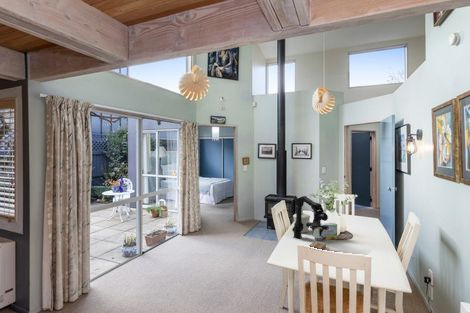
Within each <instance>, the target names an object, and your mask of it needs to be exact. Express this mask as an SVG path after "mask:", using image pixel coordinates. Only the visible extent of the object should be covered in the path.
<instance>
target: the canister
mask: <svg viewBox="0 0 470 313" xmlns="http://www.w3.org/2000/svg"><path fill="white" fill-rule="evenodd" d="M292 217H293V224H295V222H296V213H294V214H293V215H292ZM310 219H311V215H310V214H308V213H304V212H303V211H302V217H301V222H302V224H303V230H302V231H301V234H303V233H304V234H305V233H307V232H309V228H310V227H307V226H306V223H308V222H310Z"/></svg>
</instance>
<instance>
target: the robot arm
mask: <svg viewBox="0 0 470 313" xmlns="http://www.w3.org/2000/svg"><path fill="white" fill-rule="evenodd" d="M305 203H306V204H307V205H309V206H310V208H311V209H312V211H311V212H312V213H313V220H312V221H311V222H310V221H309V222H308V223H306V226H307V227H309V228H310V229H311V231H312V232H313V230H314V229H317V227H320V228H321V229H320V236H321V234H322V232H323V230H327V229H329V226H328V225H323V226H322V225H321V224H322V223H321V222H322V221H324V222H325V221H327V220H328V219H329V216H328V214H327V212H325V211H324V209H323V206H322V205H321V203H319V202H316V201H313V200H312V199H311V198H309V197H308V196H306V195H304V196H303V195H302V196H300V197H298V198H295V199H294V205H295V207H296V208H295V209H296V210H295V211H296V212H295V214H296V222H295V224H294V223H293V224H294V226H293V228H292V232H293V238H294V239H297V240H298V239H301V238H303V237H302V233H301V231H302V230H303V224H302V222H301V217H302V212H303V210H302V209H303V207H304V204H305Z"/></svg>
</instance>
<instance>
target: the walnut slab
mask: <svg viewBox="0 0 470 313" xmlns="http://www.w3.org/2000/svg"><path fill="white" fill-rule="evenodd" d="M308 246H310V247H314V248H317V249H322V251H323V250H325V249H326V248H327V243H326V244H325V243H321V242H318V241H317V242H316V241H313V242H312V243H310V244H309V245H308Z"/></svg>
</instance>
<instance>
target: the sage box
mask: <svg viewBox="0 0 470 313" xmlns="http://www.w3.org/2000/svg"><path fill="white" fill-rule="evenodd" d="M312 233H313V238H314V239H315V238H320V237H321V236H320V229H314V230H313V231H312Z"/></svg>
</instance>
